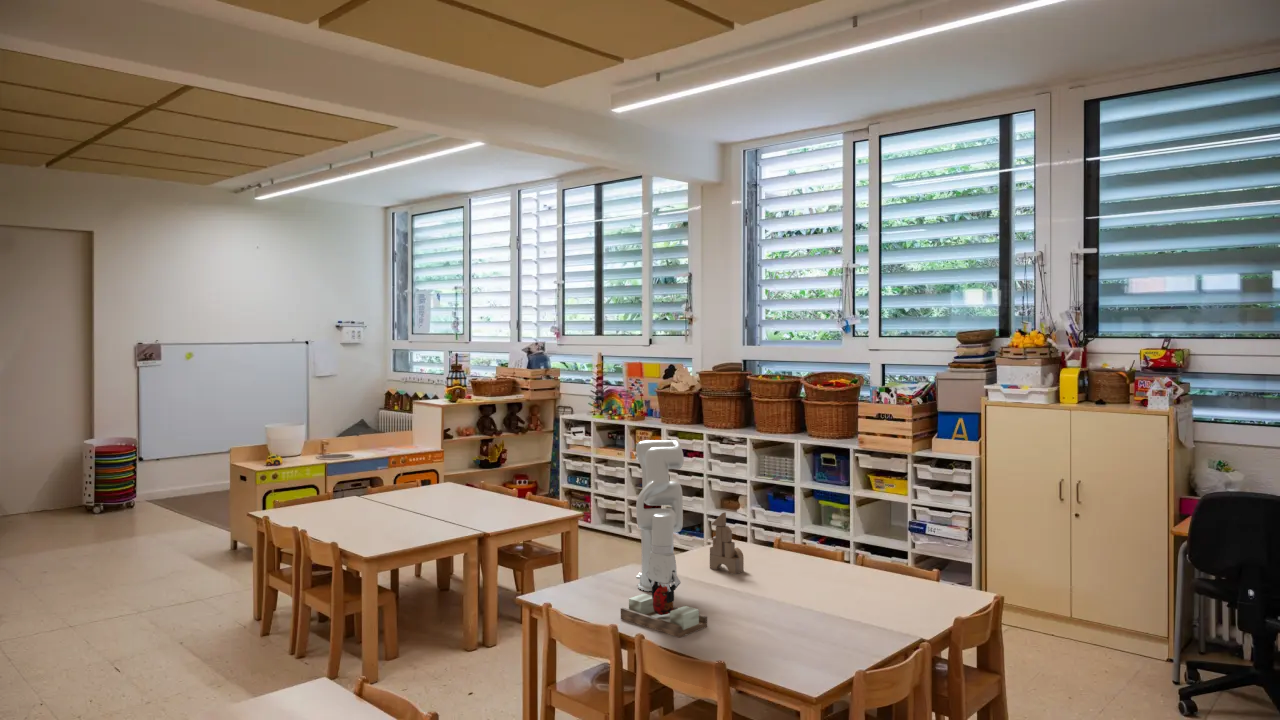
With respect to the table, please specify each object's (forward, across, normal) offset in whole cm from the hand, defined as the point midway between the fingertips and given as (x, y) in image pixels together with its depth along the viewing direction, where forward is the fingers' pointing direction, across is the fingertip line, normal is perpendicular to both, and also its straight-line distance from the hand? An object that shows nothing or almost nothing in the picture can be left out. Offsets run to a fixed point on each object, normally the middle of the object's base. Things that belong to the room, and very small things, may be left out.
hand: (663, 599), depth 285 cm
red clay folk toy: (+5, 0, 0) cm, 5 cm away
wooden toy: (+9, -25, +67) cm, 72 cm away
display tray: (+8, 0, 0) cm, 8 cm away
